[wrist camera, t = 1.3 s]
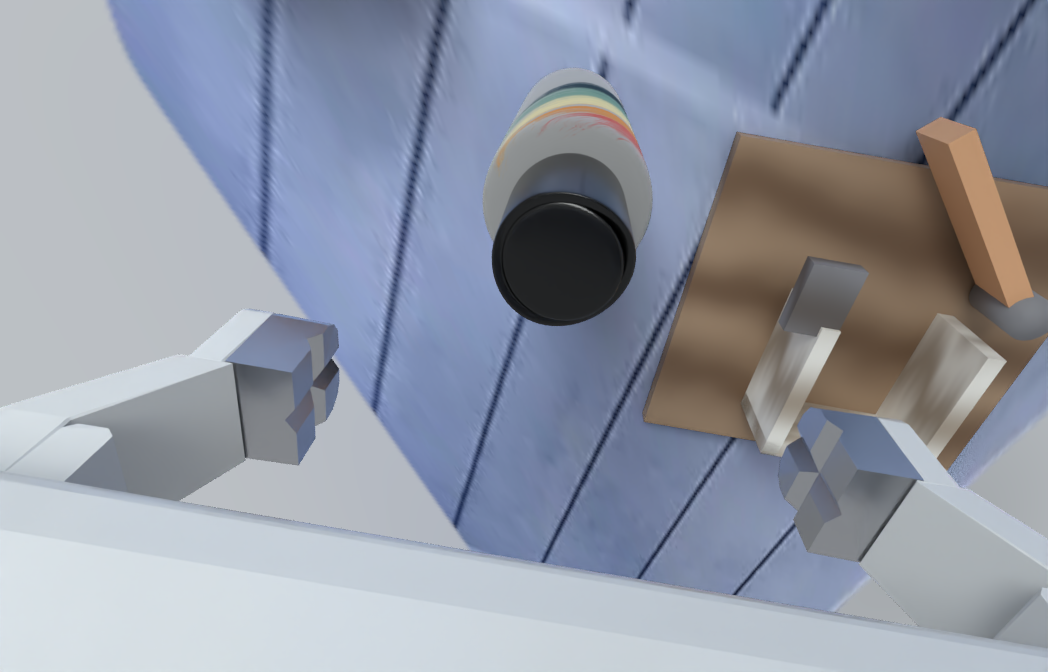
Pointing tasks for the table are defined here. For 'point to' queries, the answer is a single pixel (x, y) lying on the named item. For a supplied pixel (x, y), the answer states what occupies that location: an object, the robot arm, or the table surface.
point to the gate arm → (982, 229)
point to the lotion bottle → (567, 201)
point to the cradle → (839, 302)
